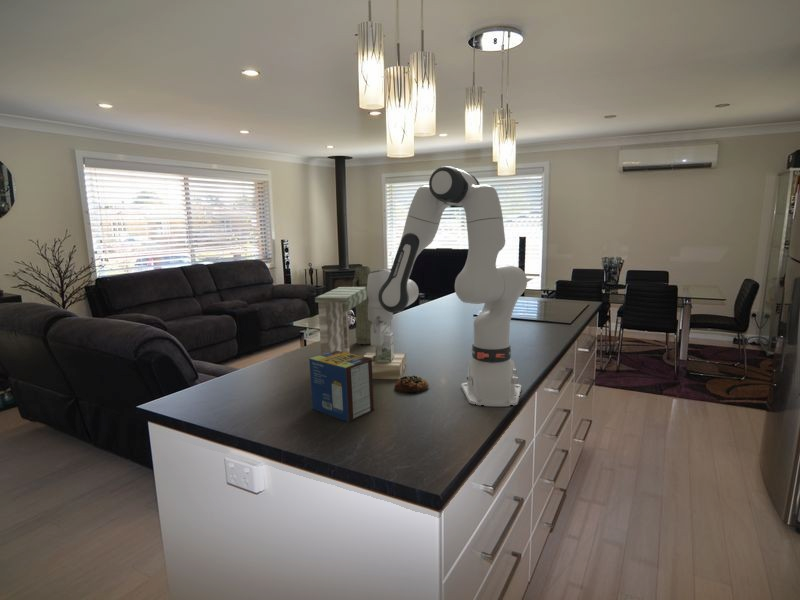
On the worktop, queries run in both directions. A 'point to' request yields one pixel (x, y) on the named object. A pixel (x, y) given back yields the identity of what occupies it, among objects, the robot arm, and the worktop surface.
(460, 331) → the worktop surface
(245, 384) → the worktop surface
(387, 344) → the syrup box
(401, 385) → the bread roll
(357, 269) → the olive green tall block
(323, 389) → the protein box
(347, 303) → the socket stand
